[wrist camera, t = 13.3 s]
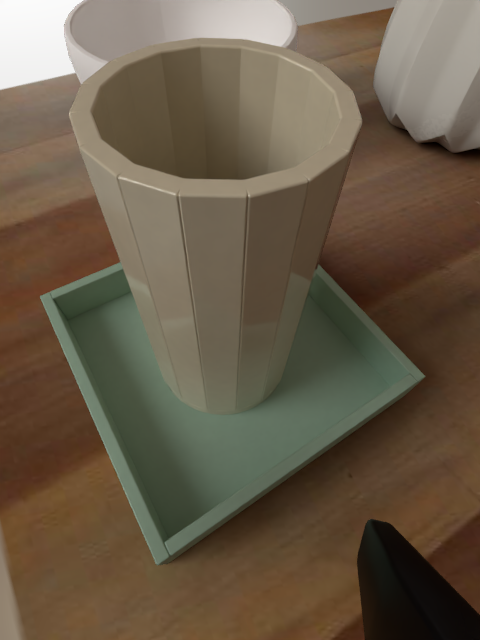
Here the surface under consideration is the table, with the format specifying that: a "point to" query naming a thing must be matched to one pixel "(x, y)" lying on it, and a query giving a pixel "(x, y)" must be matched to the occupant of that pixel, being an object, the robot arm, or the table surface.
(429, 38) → the vase
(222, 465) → the serving tray
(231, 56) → the rice cup
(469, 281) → the table surface
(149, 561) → the table surface
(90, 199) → the table surface
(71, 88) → the table surface
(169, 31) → the bowl
